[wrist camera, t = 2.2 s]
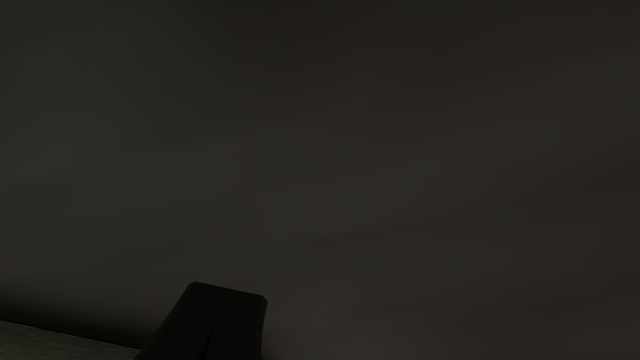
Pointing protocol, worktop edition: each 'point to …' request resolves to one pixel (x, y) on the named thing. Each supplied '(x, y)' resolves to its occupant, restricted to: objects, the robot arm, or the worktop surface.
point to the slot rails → (55, 345)
